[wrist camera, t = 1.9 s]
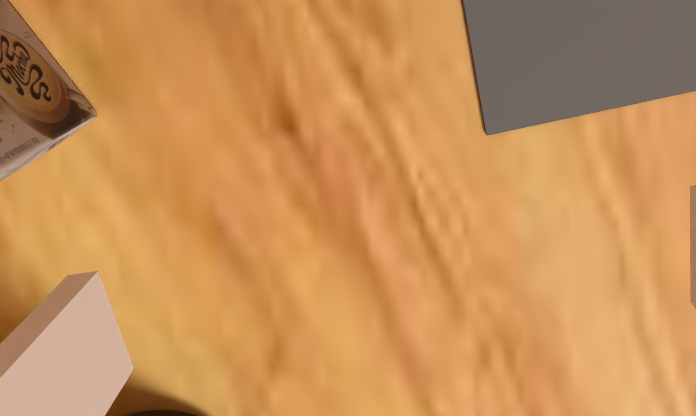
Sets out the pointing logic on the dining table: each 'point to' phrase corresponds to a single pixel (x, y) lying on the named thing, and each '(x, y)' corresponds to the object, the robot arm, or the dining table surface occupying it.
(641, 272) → the dining table surface
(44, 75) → the coffee box
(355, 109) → the dining table surface
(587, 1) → the mat
